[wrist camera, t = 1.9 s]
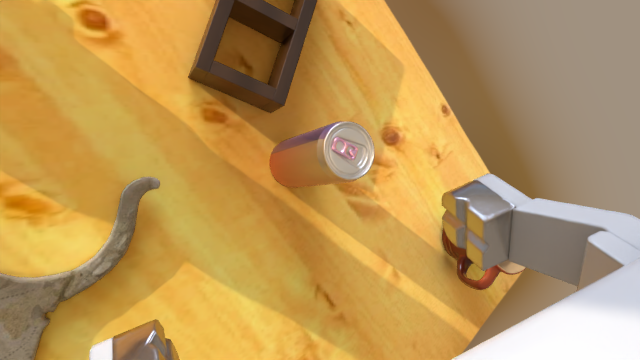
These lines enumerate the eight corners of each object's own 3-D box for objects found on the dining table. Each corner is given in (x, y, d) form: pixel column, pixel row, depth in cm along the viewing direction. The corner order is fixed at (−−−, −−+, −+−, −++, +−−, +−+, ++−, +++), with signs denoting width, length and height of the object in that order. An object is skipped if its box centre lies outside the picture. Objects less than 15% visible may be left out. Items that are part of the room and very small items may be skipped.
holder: (187, 77, 50) (195, 66, 46) (239, -67, 54) (251, -88, 50) (270, 113, 55) (284, 105, 51) (313, -23, 58) (329, -40, 54)
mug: (451, 195, 67) (507, 193, 58) (486, 228, 70) (544, 231, 60) (414, 262, 63) (468, 272, 54) (453, 294, 66) (510, 309, 57)
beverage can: (277, 132, 55) (334, 108, 41) (317, 152, 57) (383, 135, 44) (260, 176, 54) (313, 166, 40) (302, 194, 56) (365, 191, 42)
